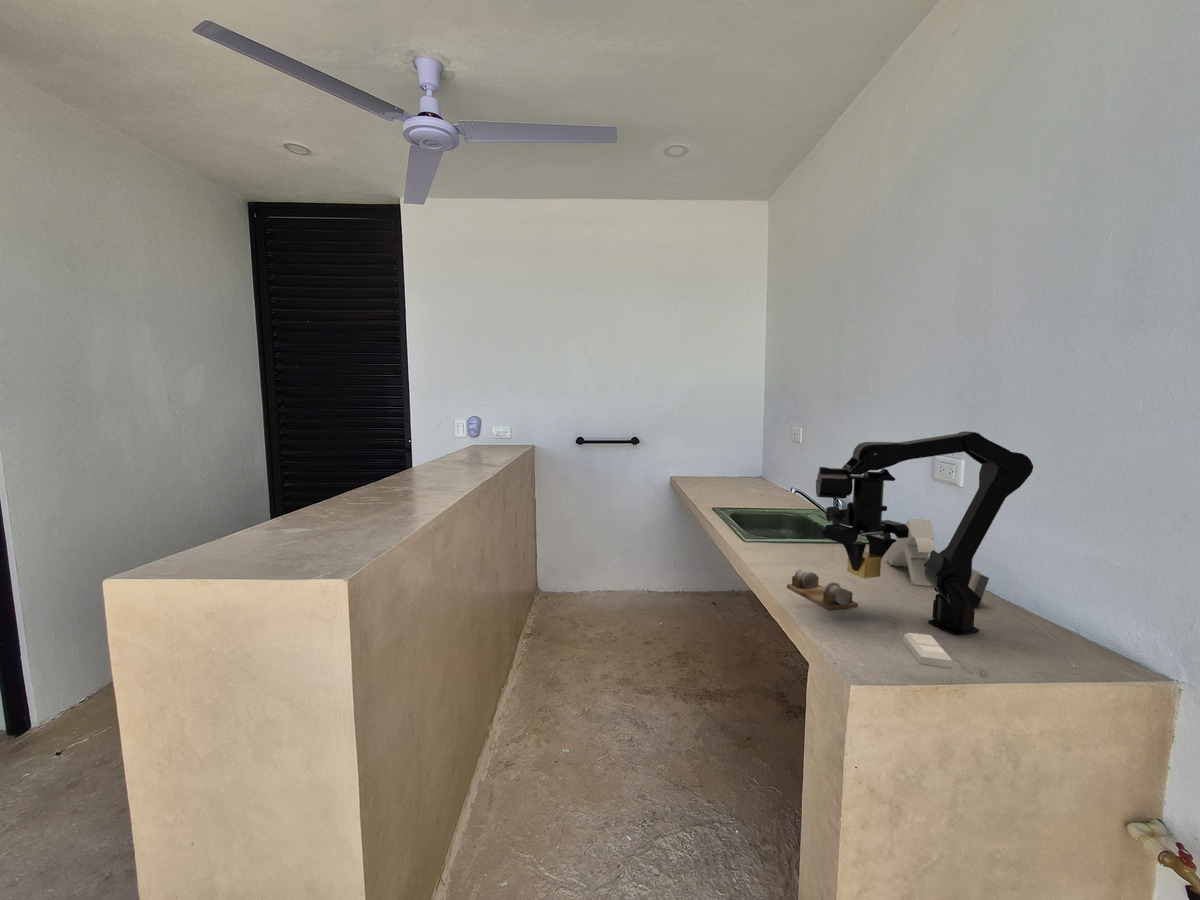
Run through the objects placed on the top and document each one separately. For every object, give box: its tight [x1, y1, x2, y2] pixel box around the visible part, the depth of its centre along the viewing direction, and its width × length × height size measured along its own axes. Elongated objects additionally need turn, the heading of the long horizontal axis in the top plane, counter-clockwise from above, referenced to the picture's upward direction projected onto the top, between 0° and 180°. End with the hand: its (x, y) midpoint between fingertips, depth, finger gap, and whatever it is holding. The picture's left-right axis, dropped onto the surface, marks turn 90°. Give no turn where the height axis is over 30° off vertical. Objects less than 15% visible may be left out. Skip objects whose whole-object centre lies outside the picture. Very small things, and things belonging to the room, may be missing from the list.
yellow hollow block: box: [847, 550, 882, 579], centre depth 107 cm, size 5×4×4 cm
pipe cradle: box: [786, 569, 858, 611], centre depth 119 cm, size 15×8×5 cm, turn 17°
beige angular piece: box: [886, 518, 936, 587], centre depth 134 cm, size 6×16×20 cm
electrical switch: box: [937, 567, 990, 609], centre depth 117 cm, size 9×5×9 cm, turn 0°
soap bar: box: [903, 632, 953, 669], centre depth 92 cm, size 5×9×3 cm, turn 165°
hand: (863, 569), depth 107 cm, fingers closed on yellow hollow block, 4 cm apart
